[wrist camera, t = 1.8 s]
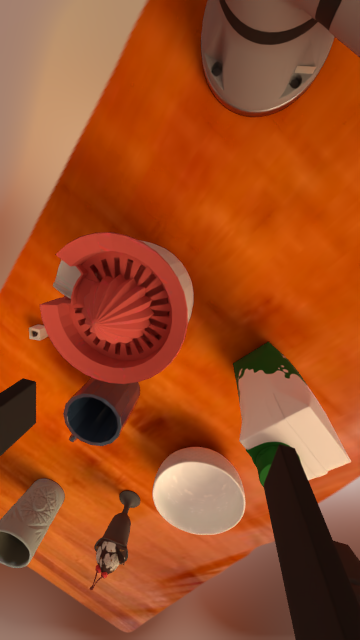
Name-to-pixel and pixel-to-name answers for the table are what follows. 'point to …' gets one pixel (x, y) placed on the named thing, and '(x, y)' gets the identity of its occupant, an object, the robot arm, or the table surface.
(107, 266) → the citrus juicer
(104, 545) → the sundae
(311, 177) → the table surface
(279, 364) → the milk carton
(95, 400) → the mug
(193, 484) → the cereal bowl
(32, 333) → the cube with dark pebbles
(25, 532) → the grey embossed cup
